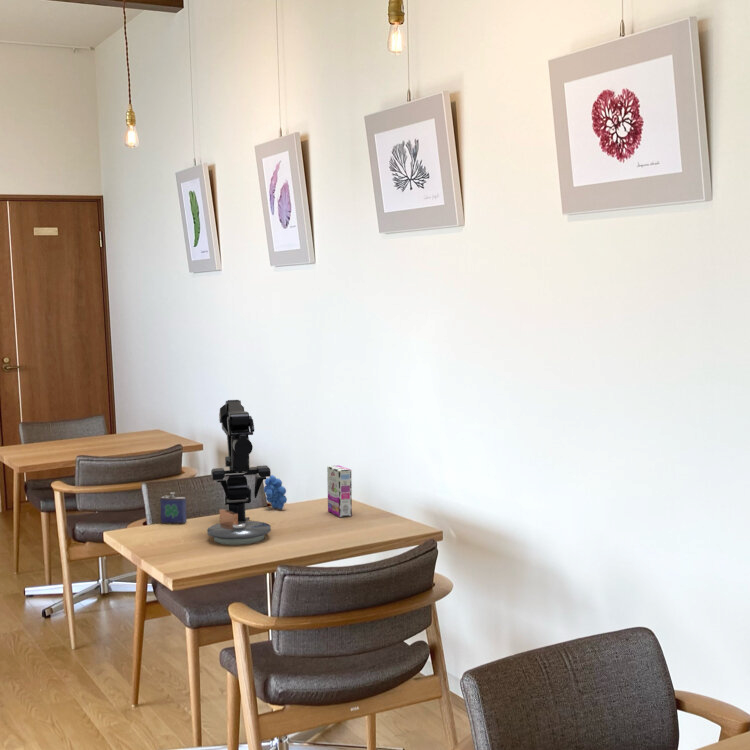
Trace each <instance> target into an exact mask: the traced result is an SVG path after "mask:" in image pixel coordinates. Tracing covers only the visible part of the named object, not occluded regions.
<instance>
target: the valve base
mask: <svg viewBox="0 0 750 750" xmlns="http://www.w3.org/2000/svg"><path fill="white" fill-rule="evenodd" d="M265 536H266V534H265V535H262V536H258V537H253V538H245V539H221V538H215V537H213V540H214V542H215V543H217V544H221V545H229V546H236V545H237V546H239V545H248V544H250V545H251V544H254V543H259V542H261V541H263V540H264V539H265V538H266V537H265Z"/></svg>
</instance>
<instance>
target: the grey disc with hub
mask: <svg viewBox="0 0 750 750" xmlns="http://www.w3.org/2000/svg"><path fill="white" fill-rule="evenodd" d="M271 528H272V527H271V524H269V523H267V522H263V521H255V520H246V521H238V514H237V513H234V512H231V511H229V509H228V510H227V509H225V508H223V509H222V508H221V509H219V523H216V524H213V525H210V526H208V527H207V529H206V531H207V532H206V535H208V536H210V537H212V538H214V537H215V538H221V539H245V538H253V537H258V536H262V535H265V536H266V535H267V534H268V533H269V534H270V532H271V531H272V529H271Z"/></svg>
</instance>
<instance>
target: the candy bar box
mask: <svg viewBox="0 0 750 750" xmlns="http://www.w3.org/2000/svg"><path fill="white" fill-rule="evenodd" d="M326 468H327V470H326V471H327V473H326V474H327V512H329V513H330V514H332V515H333V516H336V517H338V518H345V517H346V518H347V517H352V516H353V513H352V512H353V511H352V510H353V508H352V506H353V505H352V504H353V502H352V492H353V490H352V486H353V485H352V469H349V468H347V467H344V466H342V465H328V466H327V467H326Z"/></svg>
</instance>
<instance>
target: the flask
mask: <svg viewBox="0 0 750 750" xmlns="http://www.w3.org/2000/svg"><path fill="white" fill-rule="evenodd" d="M175 494H176V492H175V491H173V492H169V495H167V494H165V495H164V496H161V497H160V498H159V500H160V503H159V505H160V524H162V525H163V524H166V525H168V524H167V523H171V524H170V525H186V524H187V519H188V518H187V499H186V497H185V496H175ZM185 523H186V524H185Z"/></svg>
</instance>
